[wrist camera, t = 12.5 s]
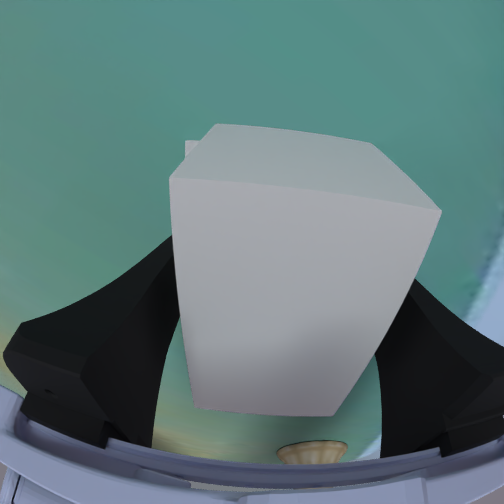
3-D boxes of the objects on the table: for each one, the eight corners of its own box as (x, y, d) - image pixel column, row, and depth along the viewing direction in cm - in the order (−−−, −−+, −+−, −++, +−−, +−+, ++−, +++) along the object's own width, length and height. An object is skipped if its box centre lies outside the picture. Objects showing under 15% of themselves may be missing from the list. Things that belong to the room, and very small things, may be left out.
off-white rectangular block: (321, 322, 16) (332, 416, 11) (212, 312, 16) (194, 407, 11) (371, 143, 10) (442, 211, 6) (215, 123, 10) (169, 177, 6)
